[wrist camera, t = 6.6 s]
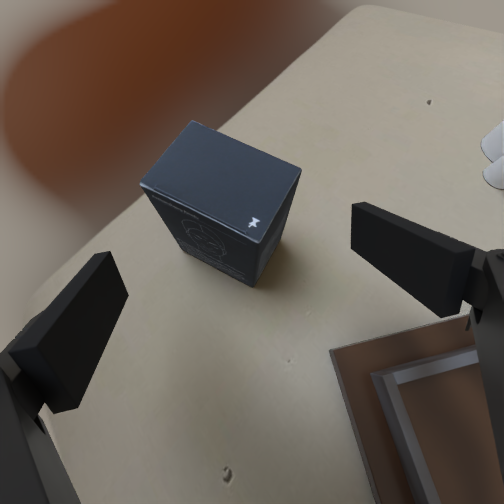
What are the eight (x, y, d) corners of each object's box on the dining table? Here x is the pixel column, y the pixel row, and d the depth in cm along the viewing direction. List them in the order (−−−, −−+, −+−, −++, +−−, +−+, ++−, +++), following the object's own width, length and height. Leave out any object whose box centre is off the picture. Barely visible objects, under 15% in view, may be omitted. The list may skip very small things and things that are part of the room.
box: (281, 238, 25) (305, 167, 15) (253, 289, 23) (259, 246, 13) (210, 203, 26) (190, 115, 16) (179, 249, 24) (134, 182, 14)
